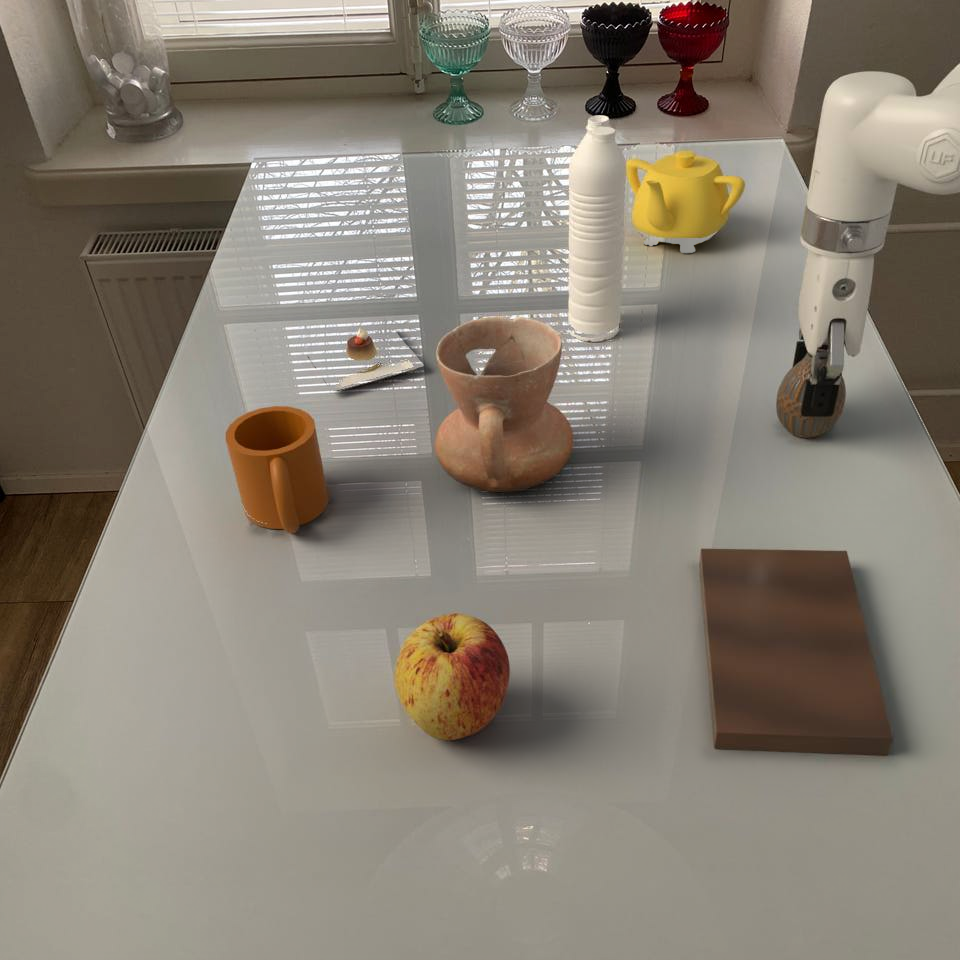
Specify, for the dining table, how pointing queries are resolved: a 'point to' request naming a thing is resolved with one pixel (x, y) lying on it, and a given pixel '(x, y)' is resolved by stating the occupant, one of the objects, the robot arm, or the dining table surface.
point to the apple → (452, 675)
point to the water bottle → (596, 231)
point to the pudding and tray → (365, 350)
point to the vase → (793, 397)
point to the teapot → (682, 196)
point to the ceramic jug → (503, 405)
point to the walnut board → (789, 654)
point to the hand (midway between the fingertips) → (811, 394)
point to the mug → (278, 467)
